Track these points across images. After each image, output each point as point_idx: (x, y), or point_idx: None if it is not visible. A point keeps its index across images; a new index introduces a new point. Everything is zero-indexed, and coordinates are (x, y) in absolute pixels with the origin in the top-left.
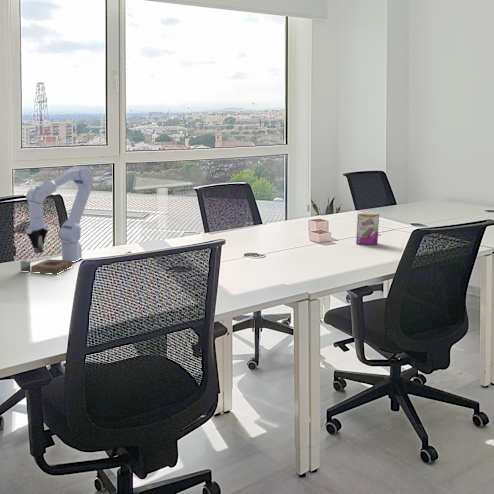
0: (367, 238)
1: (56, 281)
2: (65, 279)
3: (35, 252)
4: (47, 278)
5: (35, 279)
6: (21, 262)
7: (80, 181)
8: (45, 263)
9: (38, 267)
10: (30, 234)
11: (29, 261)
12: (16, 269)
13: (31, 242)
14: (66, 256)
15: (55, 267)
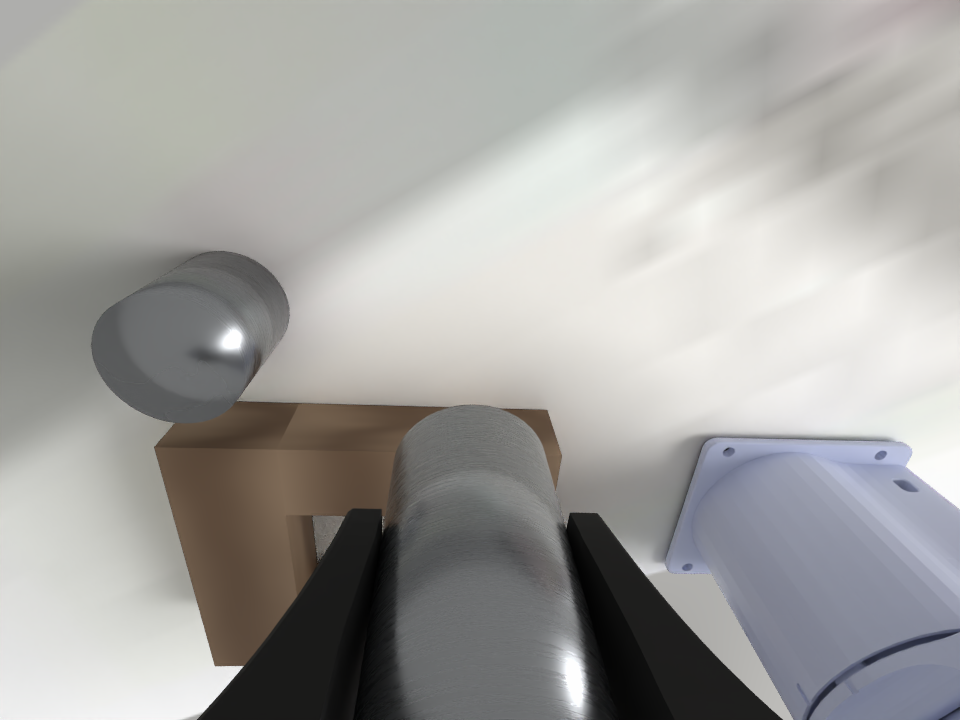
0: None
1: (71, 672)
2: (156, 692)
3: (393, 465)
4: (106, 594)
5: (15, 534)
6: (95, 336)
7: None
8: None
9: (178, 519)
10: None
11: (199, 416)
12: (269, 130)
13: (298, 599)
14: (718, 555)
15: (236, 651)
